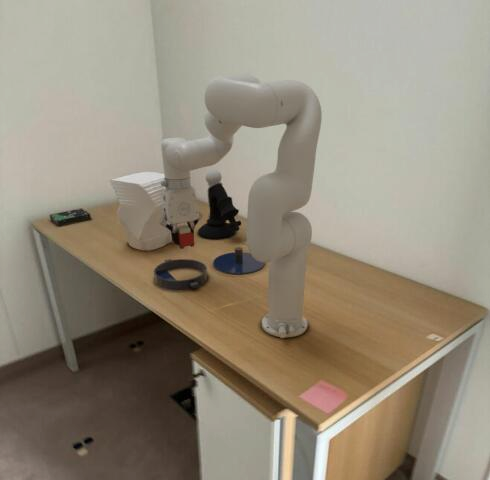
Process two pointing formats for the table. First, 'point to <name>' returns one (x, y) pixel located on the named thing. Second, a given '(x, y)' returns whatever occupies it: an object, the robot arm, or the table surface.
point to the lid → (237, 263)
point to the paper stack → (142, 209)
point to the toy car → (185, 236)
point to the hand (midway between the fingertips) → (183, 241)
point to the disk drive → (70, 217)
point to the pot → (170, 282)
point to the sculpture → (219, 210)
